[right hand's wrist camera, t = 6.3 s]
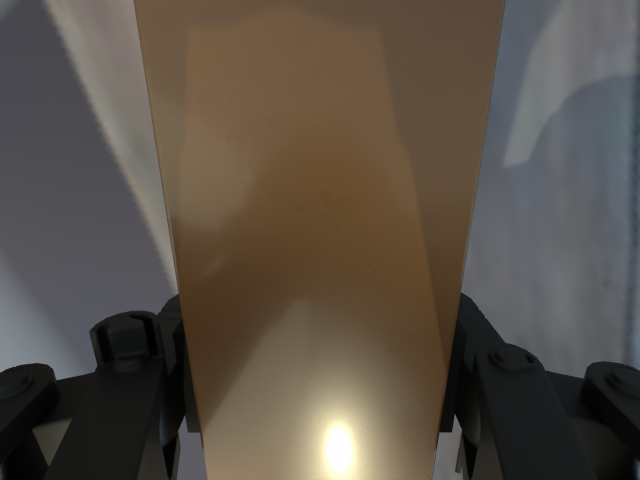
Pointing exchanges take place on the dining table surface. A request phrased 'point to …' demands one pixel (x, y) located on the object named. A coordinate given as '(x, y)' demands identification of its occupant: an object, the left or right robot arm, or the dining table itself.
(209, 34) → the beam
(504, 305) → the dining table surface
